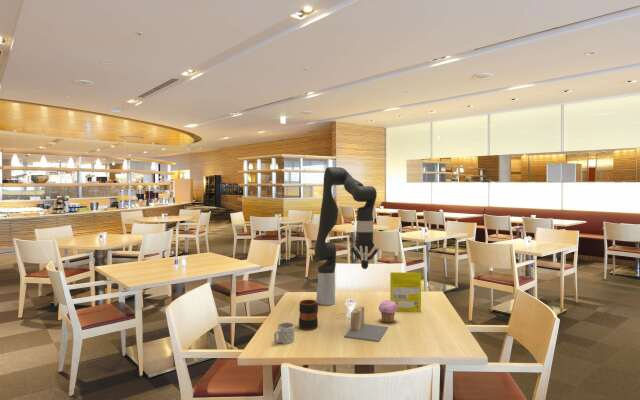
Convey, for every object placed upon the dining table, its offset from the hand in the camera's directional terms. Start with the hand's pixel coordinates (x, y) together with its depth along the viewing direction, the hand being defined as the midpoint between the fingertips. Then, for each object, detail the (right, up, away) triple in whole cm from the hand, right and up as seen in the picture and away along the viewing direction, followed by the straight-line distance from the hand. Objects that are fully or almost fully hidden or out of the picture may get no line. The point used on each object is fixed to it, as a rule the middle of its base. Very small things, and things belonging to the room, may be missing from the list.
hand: (364, 268), depth 195 cm
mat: (0, -27, -5) cm, 28 cm away
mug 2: (-25, -27, +4) cm, 37 cm away
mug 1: (-36, -28, -16) cm, 48 cm away
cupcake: (+12, -27, +9) cm, 31 cm away
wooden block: (-5, -23, -4) cm, 24 cm away
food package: (+23, -26, +24) cm, 43 cm away
